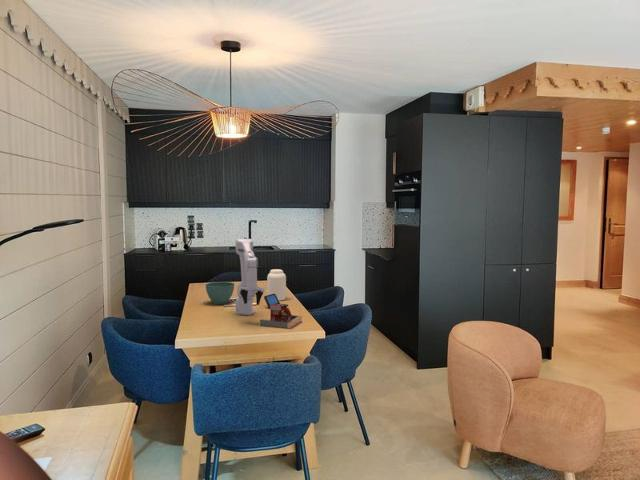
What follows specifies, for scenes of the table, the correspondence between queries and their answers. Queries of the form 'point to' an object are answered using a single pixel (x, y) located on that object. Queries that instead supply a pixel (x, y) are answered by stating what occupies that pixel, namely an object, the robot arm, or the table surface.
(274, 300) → the handheld game console
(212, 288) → the plant pot
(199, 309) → the table surface
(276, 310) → the toy fire truck
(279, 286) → the white ceramic jar
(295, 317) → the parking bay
